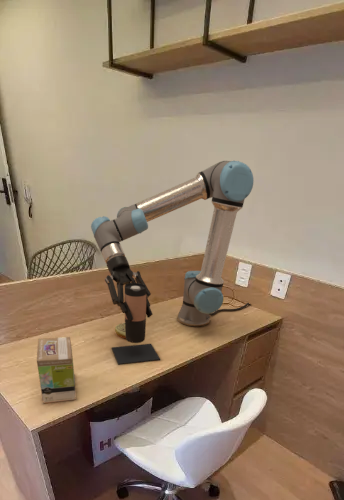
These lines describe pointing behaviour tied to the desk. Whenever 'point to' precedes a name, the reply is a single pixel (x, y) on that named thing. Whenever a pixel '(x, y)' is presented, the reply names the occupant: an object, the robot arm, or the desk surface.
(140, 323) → the travel mug
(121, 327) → the decorated donut
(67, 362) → the tea box
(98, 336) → the desk surface
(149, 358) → the desk mat
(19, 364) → the desk surface
